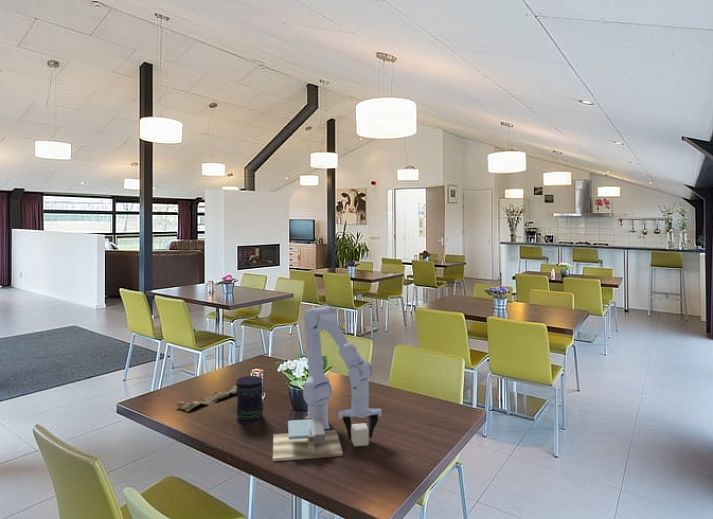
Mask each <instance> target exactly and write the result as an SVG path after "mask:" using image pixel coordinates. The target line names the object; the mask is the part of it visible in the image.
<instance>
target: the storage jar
mask: <svg viewBox="0 0 713 519" xmlns="http://www.w3.org/2000/svg"><path fill="white" fill-rule="evenodd" d="M236 385H237V387H236V391H237V392H236V397H237V398H236V400H237V404H236V416H237V417H236V421H237V422H238V421H239V422H238V423H240V422H241V424H246V423H247V424H249V425H250V424H255V423H258V422H260V421H262V420H263V418H264V415H263V412H264V406H263V405H264V404H263V392H264V390H263V389H264V388H263V387H264V385H263V378H262V377H261V376H259V375H257V376H256V375H246V376H242V377H241V376H240V377H239V378H237V380H236ZM247 424H246V425H247Z"/></svg>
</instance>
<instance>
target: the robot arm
mask: <svg viewBox="0 0 713 519" xmlns="http://www.w3.org/2000/svg"><path fill="white" fill-rule="evenodd" d="M337 316H338V315H337V313H336V312H335V310H334V308H333V307H332V306H330V305H326V306H325V305H324V306H321V307H315V308H308V309H307V310H306V311H305V313H304V314H303V322H304V326H303V327H304V339H305V348H306V358H307V368H308V369H307V370H308V377H307V379H306V380H305V381H304V382H303V391H302V394H303V395H302V396H303V399H304V401H305V403H306V404H307V417H310V416H311V419H322V423H323V428H324V430H330V424H329V423H330V422H329V420H328V419H329V418H328V416H329V414H328V402H329V401H330V397H332V394H333V388H332V386H331V382H330V378H329V377H328V376H326V375H325V373H324V362H323V353H322V352H323V351H322V343H321V331H323V330H324V331H327V333H328V334H329V336H330V337H331V338H332V340H333V341H334V342H335V345H337V347H338V348H339V349H338V354H339V355H340V358H341V359H342V360H343V362H344V364H345V366H346V367H347V369H348V371H347V375H348V379H349V381H350V386H351V408H350V409H345V410H340V411H338V412H337V415H338V419H339V420H342V421H343V423H344V426H345V428H346V430H347V437H348V441H349V440H351V441H352V421H351V418H359V419H361V418H362V419H363V418H366V417H367V418H368V429H369V439H373V438H372V437H373V434H374V430H375V427H376V426H377V423H378V422H379V417H382V414H383V413H382V411H383V410H382V409H381V408H371V407H369V396H370V395H369V387H370V386H369V383H370V382H369V381H370V380H369V379H370V377H371V376H372V374H373V368H372V366H371V364H370V362H368V361H367V360H365V359H364V358H362V356H361V355H360V353H359V352H358V350H357V347H356V346H355V345H354V344H353V343H351V342H350V343H349V342H348V339H347V338H346V336H345V334H344V332H343V330H342V329H341V327H340V324H339V323H338V321H337V319H338V318H337Z"/></svg>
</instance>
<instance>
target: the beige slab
mask: <svg viewBox="0 0 713 519" xmlns="http://www.w3.org/2000/svg"><path fill="white" fill-rule="evenodd" d="M307 419H311V416H310V417H308V416H305V417H304V420H307ZM324 432H325V443H320V444H316V443H315V438H314V435H308V438H306V439H292V440H289V434H288V433H278V434H277V433H275V434H274V433H273V434H272V435H273V436H272V437H273V438H272V442H273V443H272V462H281V461H283V462H284V461H295V460H305V459H307V460H309V459H318V458H319V459H320V458H331V457H332V458H333V457H343V456H344V452H343V449H342V444H341V441H340V437H339V435H338V431H337V429H334V430H333V429H332V430H324Z"/></svg>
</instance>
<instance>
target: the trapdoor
mask: <svg viewBox="0 0 713 519" xmlns="http://www.w3.org/2000/svg"><path fill="white" fill-rule="evenodd" d="M287 430H288V432H287V434H289V440H292V439H306V438H308V435H314V438H315V443H316V444H320V443H325V432H324V431H325V429H324V428H323V423H322V419H307V420H305V419H296V420H288V421H287Z"/></svg>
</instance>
